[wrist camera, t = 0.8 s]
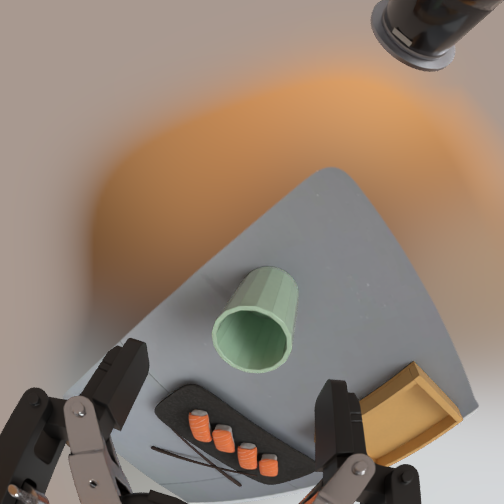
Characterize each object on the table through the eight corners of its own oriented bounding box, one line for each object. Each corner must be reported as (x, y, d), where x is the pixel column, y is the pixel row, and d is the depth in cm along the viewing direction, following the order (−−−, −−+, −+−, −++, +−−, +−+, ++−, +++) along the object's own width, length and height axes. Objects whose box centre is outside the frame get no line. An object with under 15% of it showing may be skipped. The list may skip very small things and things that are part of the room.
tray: (413, 360, 30) (419, 375, 27) (457, 407, 30) (463, 420, 27) (315, 427, 36) (314, 442, 33) (374, 460, 36) (375, 473, 33)
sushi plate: (326, 460, 37) (325, 476, 34) (225, 491, 47) (220, 502, 44) (196, 371, 37) (186, 387, 33) (124, 425, 46) (115, 436, 43)
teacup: (266, 254, 30) (245, 289, 21) (310, 293, 30) (308, 343, 21) (229, 293, 32) (197, 338, 23) (271, 329, 32) (255, 384, 23)
